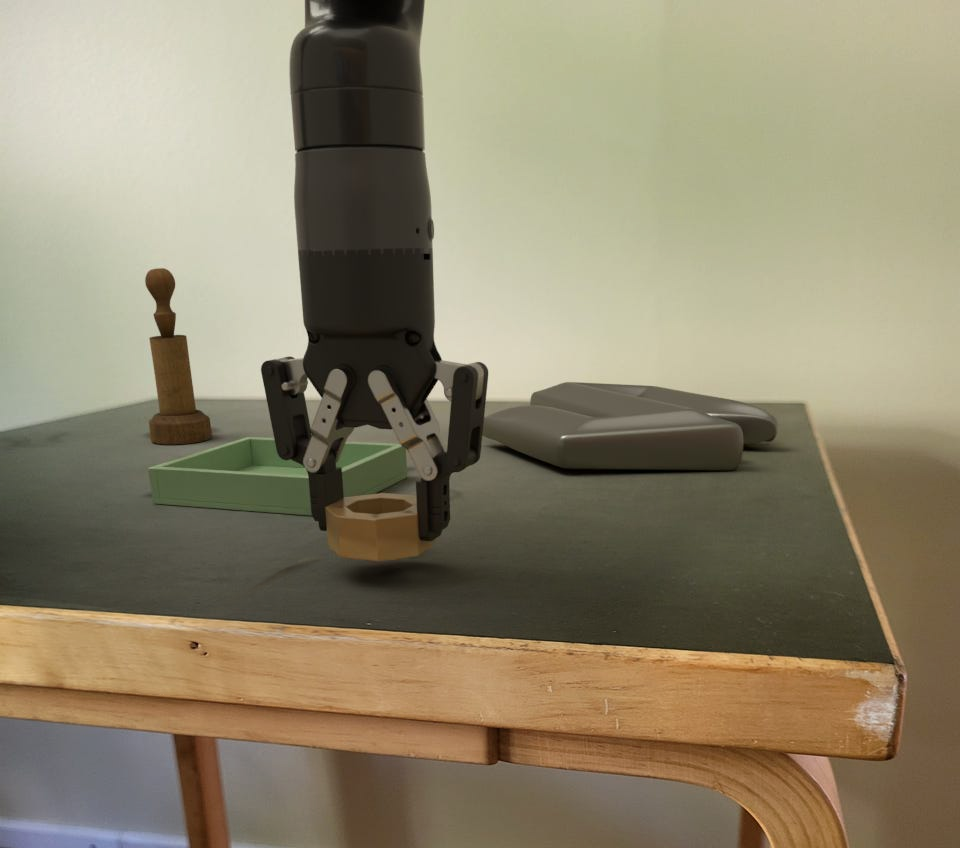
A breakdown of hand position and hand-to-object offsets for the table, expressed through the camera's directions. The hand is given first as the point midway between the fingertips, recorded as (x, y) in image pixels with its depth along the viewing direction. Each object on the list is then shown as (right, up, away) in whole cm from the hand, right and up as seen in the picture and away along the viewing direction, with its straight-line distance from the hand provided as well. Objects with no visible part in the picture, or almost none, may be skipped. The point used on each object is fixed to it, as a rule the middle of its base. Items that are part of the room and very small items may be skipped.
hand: (381, 532), depth 60 cm
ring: (0, -1, 0) cm, 1 cm away
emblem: (+21, +12, +37) cm, 44 cm away
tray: (-11, +6, +24) cm, 27 cm away
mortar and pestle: (-27, +16, +49) cm, 58 cm away
